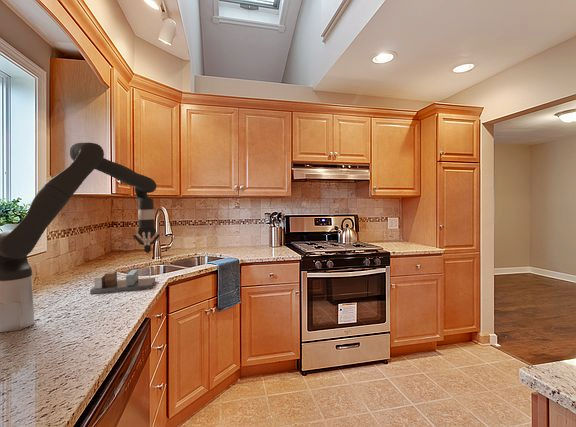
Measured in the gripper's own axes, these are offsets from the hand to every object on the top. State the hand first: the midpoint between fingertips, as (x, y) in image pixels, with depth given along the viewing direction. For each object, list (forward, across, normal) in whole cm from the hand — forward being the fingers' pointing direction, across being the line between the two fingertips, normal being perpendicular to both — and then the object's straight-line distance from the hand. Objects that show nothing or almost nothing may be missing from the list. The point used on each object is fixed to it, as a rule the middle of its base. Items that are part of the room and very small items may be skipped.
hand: (147, 252), depth 153 cm
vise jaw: (+15, +7, 0) cm, 16 cm away
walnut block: (+15, +17, 0) cm, 22 cm away
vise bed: (+17, +11, 0) cm, 20 cm away
